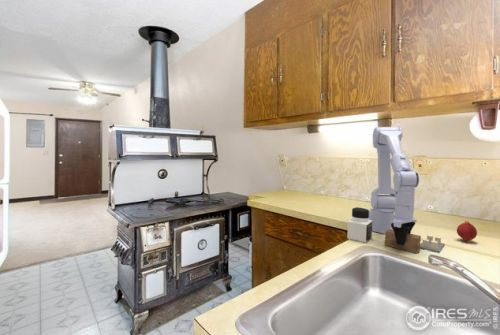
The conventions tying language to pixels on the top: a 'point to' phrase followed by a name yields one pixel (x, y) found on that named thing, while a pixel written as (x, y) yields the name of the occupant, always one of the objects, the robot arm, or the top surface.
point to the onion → (467, 231)
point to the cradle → (432, 244)
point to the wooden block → (410, 243)
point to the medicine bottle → (360, 225)
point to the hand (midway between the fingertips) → (402, 242)
